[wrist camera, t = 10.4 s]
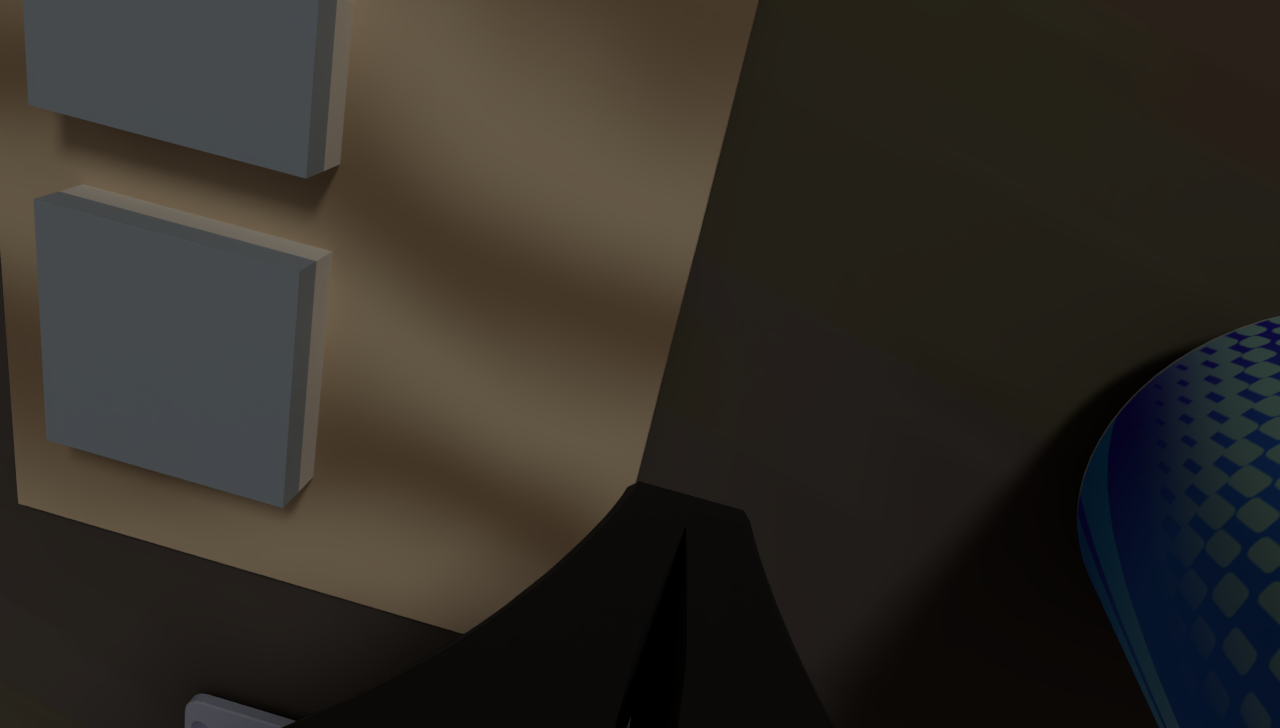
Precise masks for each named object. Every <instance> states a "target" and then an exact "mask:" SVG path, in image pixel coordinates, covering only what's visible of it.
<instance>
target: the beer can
mask: <svg viewBox="0 0 1280 728" xmlns="http://www.w3.org/2000/svg"><path fill="white" fill-rule="evenodd" d="M1077 530H1078V538H1079V546H1080V550H1081V555H1082V559H1083V562H1084V565H1085V568H1086V570H1087V573H1088V576H1089V578H1090V580H1091V582H1092V584H1093V587H1094V589H1095V591H1096V593H1097V595H1098V597H1099V600H1100V602H1101V604H1102V606H1103V608H1104V610H1105V613H1106V615H1107V617H1108V619H1109V621H1110V623H1111V626H1112V628H1113V630H1114V632H1115V634H1116V636H1117V639H1118V641H1119V643H1120V645H1121V647H1122V649H1123V651H1124V654H1125V656H1126V658H1127V660H1128V662H1129V664H1130V667H1131V669H1132V671H1133V673H1134V675H1135V677H1136V680H1137V682H1138V684H1139V686H1140V688H1141V690H1142V693H1143V695H1144V697H1145V699H1146V701H1147V703H1148V706H1149V708H1150V710H1151V712H1152V714H1153V716H1154V718H1155V721H1156V723H1157V725H1158V727H1159V728H1280V316H1278V317H1274V318H1270V319H1266V320H1262V321H1259V322H1256V323H1253V324H1250V325H1247V326H1244V327H1241V328H1238V329H1235V330H1233V331H1231V332H1228V333H1226V334H1224V335H1221V336H1219V337H1217V338H1214V339H1212V340H1210V341H1209V342H1207V343H1205V344H1203V345H1201V346H1199V347H1197V348H1195V349H1193V350H1192V351H1190V352H1188V353H1187V354H1185V355H1184V356H1182V357H1180V358H1179V359H1177V360H1176V361H1174V362H1172V363H1171V364H1170V365H1168V366H1167V367H1166V368H1164V369H1163V370H1162V371H1160V372H1159V373H1158V374H1156V375H1155V376H1154V377H1153V378H1152V379H1150V380H1149V381H1148V382H1147V383H1146V384H1145V385H1144V386H1143V387H1141V388H1140V389H1139V390H1138V391H1137V392H1136V393H1135V394H1134V395H1133V396H1132V397H1131V398H1130V399H1129V400H1128V402H1127V403H1126V404H1125V405H1124V406H1123V407H1122V408H1121V409H1120V411H1119V412H1118V413H1117V415H1116V416H1115V417H1114V418H1113V420H1112V421H1111V422H1110V424H1109V425H1108V427H1107V428H1106V430H1105V431H1104V433H1103V435H1102V436H1101V438H1100V439H1099V441H1098V443H1097V445H1096V447H1095V449H1094V451H1093V453H1092V455H1091V457H1090V460H1089V462H1088V465H1087V468H1086V470H1085V473H1084V476H1083V480H1082V484H1081V488H1080V492H1079V500H1078V507H1077Z"/></svg>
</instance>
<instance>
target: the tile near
mask: <svg viewBox="0 0 1280 728" xmlns="http://www.w3.org/2000/svg"><path fill="white" fill-rule="evenodd" d="M353 8H354V0H23V14H24V32H25V51H26V70H27V88H28V105H30V106H34V107H38V108H42V109H46V110H49V111H53V112H57V113H61V114H64V115H68V116H72V117H76V118H79V119H83V120H87V121H91V122H95V123H98V124H102V125H106V126H110V127H113V128H117V129H121V130H125V131H128V132H132V133H136V134H140V135H144V136H147V137H151V138H155V139H159V140H162V141H166V142H170V143H174V144H177V145H181V146H185V147H189V148H193V149H196V150H200V151H204V152H208V153H211V154H215V155H219V156H223V157H226V158H230V159H234V160H238V161H242V162H245V163H249V164H253V165H257V166H260V167H264V168H268V169H272V170H275V171H279V172H283V173H287V174H290V175H294V176H298V177H302V178H306V179H307V178H309V177H311V176H314V175H316V174H318V173H321V172H323V171H325V170H328V169H330V168H333V167H335V166H337V165H340V160H341V148H342V136H343V125H344V113H345V101H346V90H347V78H348V66H349V54H350V43H351V31H352V19H353Z"/></svg>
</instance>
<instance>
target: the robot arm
mask: <svg viewBox="0 0 1280 728" xmlns="http://www.w3.org/2000/svg"><path fill="white" fill-rule="evenodd" d="M630 717H631V721H630V728H835V726H834V724H833V722H832V721H831V719H830V717H829V715H828V713H827V711H826V710H825V708H824V706H823V704H822V702H821V700H820V698H819V696H818V694H817V692H816V690H815V688H814V686H813V684H812V682H811V680H810V678H809V676H808V674H807V672H806V670H805V668H804V666H803V664H802V662H801V660H800V658H799V655H798V653H797V651H796V649H795V647H794V645H793V642H792V640H791V637H790V635H789V633H788V630H787V628H786V626H785V623H784V621H783V618H782V616H781V614H780V611H779V609H778V606H777V604H776V601H775V599H774V596H773V594H772V591H771V588H770V586H769V583H768V580H767V577H766V574H765V571H764V568H763V565H762V563H761V559H760V556H759V553H758V550H757V546H756V543H755V540H754V536H753V532H752V528H751V524H750V521H749V519H748V517H747V516H746V514H745V512H744V510H740V509H736V508H733V507H729V506H726V505H722V504H719V503H715V502H711V501H708V500H704V499H701V498H697V497H694V496H690V495H686V494H683V493H679V492H676V491H672V490H669V489H665V488H661V487H658V486H654V485H651V484H647V483H644V482H640V481H639V482H637V483H634V484H632V485H630V486H628V487H627V488H626V490H625V491H624V493H623V495H622V496H621V497H620V499H619V500H618V501H617V503H616V504H615V505H614V506H613V508H612V509H611V510H610V511H609V512H608V513H607V514H606V516H605V517H604V518H603V519H602V520H601V521H600V522H599V523H598V524H597V525H596V526H595V527H594V528H593V529H592V531H591V532H590V533H589V534H588V535H587V536H586V537H585V538H583V539H582V540H581V541H580V542H579V543H578V544H577V545H576V546H575V547H574V548H573V549H572V550H571V551H570V552H569V553H567V554H566V555H565V556H564V557H563V558H562V559H561V560H560V561H559V562H558V563H557V564H556V565H554V566H553V567H552V568H551V569H550V570H549V571H548V572H546V573H545V574H544V575H543V576H541V577H540V578H539V579H538V580H536V581H535V582H534V583H533V584H531V585H530V586H529V587H528V588H526V589H525V590H524V591H523V592H521V593H520V594H519V595H517V596H516V597H515V598H514V599H512V600H511V601H510V602H509V603H507V604H506V605H505V606H503V607H502V608H501V609H499V610H498V611H497V612H495V613H494V614H492V615H491V616H490V617H488V618H487V619H485V620H484V621H482V622H481V623H480V624H478V625H477V626H475V627H474V628H472V629H471V630H469V631H468V632H466V633H465V634H463V635H461V636H460V637H458V638H457V639H455V640H453V641H452V642H450V643H449V644H447V645H446V646H444V647H442V648H441V649H439V650H438V651H436V652H434V653H433V654H431V655H429V656H427V657H425V658H424V659H422V660H420V661H418V662H416V663H415V664H413V665H411V666H409V667H407V668H406V669H404V670H402V671H400V672H398V673H397V674H395V675H393V676H391V677H389V678H388V679H386V680H384V681H382V682H380V683H378V684H376V685H374V686H372V687H370V688H368V689H366V690H364V691H362V692H360V693H358V694H356V695H354V696H352V697H350V698H348V699H346V700H344V701H341V702H339V703H337V704H334V705H332V706H330V707H328V708H325V709H323V710H321V711H318V712H316V713H314V714H311V715H309V716H307V717H304V718H302V719H300V720H297V721H295V720H291V719H288V718H285V717H281V716H278V715H275V714H272V713H268V712H265V711H262V710H258V709H255V708H252V707H248V706H245V705H242V704H239V703H235V702H232V701H229V700H225V699H222V698H219V697H215V696H212V695H209V694H202V693H201V694H197V695H195V696H194V697H193V698H192V699H191V700H190V701H189V703H188V704H187V705H186V708H185V728H627V725H628V723H629V720H630Z"/></svg>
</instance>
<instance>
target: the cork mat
mask: <svg viewBox="0 0 1280 728" xmlns="http://www.w3.org/2000/svg"><path fill="white" fill-rule="evenodd" d="M758 4H759V0H354V8H353V19H352V31H351V43H350V54H349V66H348V78H347V90H346V101H345V113H344V125H343V136H342V148H341V160H340V165H337V166H335V167H333V168H330V169H328V170H325V171H323V172H321V173H318V174H316V175H314V176H311V177H309V178H307V179H306V178H302V177H298V176H294V175H290V174H287V173H283V172H279V171H275V170H272V169H268V168H264V167H260V166H257V165H253V164H249V163H245V162H242V161H238V160H234V159H230V158H226V157H223V156H219V155H215V154H211V153H208V152H204V151H200V150H196V149H193V148H189V147H185V146H181V145H177V144H174V143H170V142H166V141H162V140H159V139H155V138H151V137H147V136H144V135H140V134H136V133H132V132H128V131H125V130H121V129H117V128H113V127H110V126H106V125H102V124H98V123H95V122H91V121H87V120H83V119H79V118H76V117H72V116H68V115H64V114H61V113H57V112H53V111H49V110H46V109H42V108H38V107H34V106H30V105H28V88H27V70H26V51H25V32H24V14H23V0H0V251H1V265H2V279H3V294H4V308H5V322H6V336H7V350H8V364H9V378H10V393H11V407H12V421H13V435H14V449H15V463H16V477H17V492H18V503H19V504H22V505H25V506H29V507H32V508H36V509H39V510H43V511H46V512H49V513H53V514H56V515H60V516H63V517H66V518H70V519H73V520H77V521H80V522H83V523H87V524H90V525H94V526H97V527H100V528H104V529H107V530H111V531H114V532H118V533H121V534H124V535H128V536H131V537H135V538H138V539H141V540H145V541H148V542H152V543H155V544H158V545H162V546H165V547H169V548H172V549H175V550H179V551H182V552H186V553H189V554H193V555H196V556H199V557H203V558H206V559H210V560H213V561H216V562H220V563H223V564H227V565H230V566H233V567H237V568H240V569H244V570H247V571H250V572H254V573H257V574H261V575H264V576H268V577H271V578H274V579H278V580H281V581H285V582H288V583H291V584H295V585H298V586H302V587H305V588H308V589H312V590H315V591H319V592H322V593H325V594H329V595H332V596H336V597H339V598H343V599H346V600H349V601H353V602H356V603H360V604H363V605H366V606H370V607H373V608H377V609H380V610H383V611H387V612H390V613H394V614H397V615H400V616H404V617H407V618H411V619H414V620H418V621H421V622H424V623H428V624H431V625H435V626H438V627H441V628H445V629H448V630H452V631H455V632H458V633H462V634H465V633H466V632H468V631H469V630H471V629H472V628H474V627H475V626H477V625H478V624H480V623H481V622H482V621H484V620H485V619H487V618H488V617H490V616H491V615H492V614H494V613H495V612H497V611H498V610H499V609H501V608H502V607H503V606H505V605H506V604H507V603H509V602H510V601H511V600H512V599H514V598H515V597H516V596H517V595H519V594H520V593H521V592H523V591H524V590H525V589H526V588H528V587H529V586H530V585H531V584H533V583H534V582H535V581H536V580H538V579H539V578H540V577H541V576H543V575H544V574H545V573H546V572H548V571H549V570H550V569H551V568H552V567H553V566H554V565H556V564H557V563H558V562H559V561H560V560H561V559H562V558H563V557H564V556H565V555H566V554H567V553H569V552H570V551H571V550H572V549H573V548H574V547H575V546H576V545H577V544H578V543H579V542H580V541H581V540H582V539H583V538H585V537H586V536H587V535H588V534H589V533H590V532H591V531H592V529H593V528H594V527H595V526H596V525H597V524H598V523H599V522H600V521H601V520H602V519H603V518H604V517H605V516H606V514H607V513H608V512H609V511H610V510H611V509H612V508H613V506H614V505H615V504H616V503H617V501H618V500H619V499H620V497H621V496H622V495H623V493H624V491H625V490H626V488H627V487H628V486H630V485H632V484H634V483H636V481H637V477H638V473H639V469H640V466H641V462H642V458H643V454H644V450H645V446H646V442H647V438H648V434H649V430H650V426H651V423H652V419H653V415H654V411H655V407H656V403H657V399H658V395H659V391H660V387H661V383H662V379H663V376H664V372H665V368H666V364H667V360H668V356H669V352H670V348H671V344H672V340H673V336H674V333H675V329H676V325H677V321H678V317H679V313H680V309H681V305H682V301H683V297H684V293H685V289H686V286H687V282H688V278H689V274H690V270H691V266H692V262H693V258H694V254H695V250H696V246H697V243H698V239H699V235H700V231H701V227H702V223H703V219H704V215H705V211H706V207H707V203H708V200H709V196H710V192H711V188H712V184H713V180H714V176H715V172H716V168H717V164H718V160H719V156H720V153H721V149H722V145H723V141H724V137H725V133H726V129H727V125H728V121H729V117H730V113H731V110H732V106H733V102H734V98H735V94H736V90H737V86H738V82H739V78H740V74H741V70H742V66H743V63H744V59H745V55H746V51H747V47H748V43H749V39H750V35H751V31H752V27H753V23H754V20H755V16H756V12H757V8H758ZM82 184H84V185H88V186H91V187H95V188H99V189H103V190H106V191H110V192H114V193H117V194H121V195H125V196H129V197H132V198H136V199H140V200H143V201H147V202H151V203H154V204H158V205H162V206H166V207H169V208H173V209H177V210H180V211H184V212H188V213H192V214H195V215H199V216H203V217H206V218H210V219H214V220H217V221H221V222H225V223H229V224H232V225H236V226H240V227H243V228H247V229H251V230H255V231H258V232H262V233H266V234H269V235H273V236H277V237H280V238H284V239H288V240H292V241H295V242H299V243H303V244H306V245H310V246H314V247H318V248H321V249H325V250H329V251H332V252H333V253H332V265H331V276H330V288H329V300H328V311H327V323H326V335H325V347H324V358H323V370H322V382H321V394H320V405H319V417H318V429H317V440H316V452H315V464H314V476H313V478H312V479H311V480H310V481H309V482H308V483H307V484H306V485H305V486H304V487H303V488H302V489H301V490H300V491H299V492H298V493H297V494H296V495H295V496H294V497H293V498H292V499H291V500H290V501H289V502H288V503H287V504H286V505H285V507H284V508H281V507H277V506H274V505H270V504H267V503H263V502H260V501H256V500H253V499H249V498H246V497H242V496H239V495H236V494H232V493H229V492H225V491H222V490H218V489H215V488H211V487H208V486H204V485H201V484H197V483H194V482H190V481H187V480H184V479H180V478H177V477H173V476H170V475H166V474H163V473H159V472H156V471H152V470H149V469H145V468H142V467H138V466H135V465H132V464H128V463H125V462H121V461H118V460H114V459H111V458H107V457H104V456H100V455H97V454H93V453H90V452H86V451H83V450H79V449H76V448H73V447H69V446H66V445H62V444H59V443H55V442H52V441H48V440H46V423H45V405H44V386H43V368H42V349H41V330H40V312H39V293H38V275H37V256H36V238H35V219H34V201H33V199H35V198H39V197H42V196H45V195H49V194H52V193H55V192H59V191H62V190H65V189H69V188H72V187H75V186H79V185H82Z"/></svg>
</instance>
